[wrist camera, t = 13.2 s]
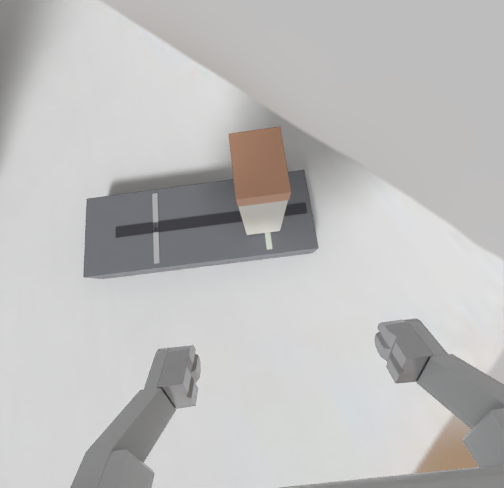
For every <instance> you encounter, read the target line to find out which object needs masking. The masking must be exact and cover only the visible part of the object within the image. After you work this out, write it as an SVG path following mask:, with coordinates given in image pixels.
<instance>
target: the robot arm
mask: <svg viewBox="0 0 504 488" xmlns="http://www.w3.org/2000/svg"><path fill="white" fill-rule="evenodd" d="M378 330H379V332H378V333H377V334H376V335H375V345H376V348H377V351H378V353H379V355H380V356H381V357H382V358H383V359H385V360H386V361H387V366H386V367H387V369H388V371H389V373H390V374H391V376H392V378H393V380H394V382H395V383H406V382H417V383H418V384H419V385H420V386H421V387H422V388H423V389H425V390H426V391H427V392H428V393H429V394H431V395H432V396H433V397H434V398H435V399H437V400H438V401H439V402H440V403H441V404H442V405H444V406H445V407H446V408H447V409H448V410H450V411H451V412H452V413H453V414H454V415H455V416H457V417H458V418H459V419H460V420H461V421H463V422H464V423H465V424H466V425H467V426H468V427H470V428H471V430H470V431H469V432H468V433H467V434H466V435H465V436H464V438H463V442H464V444H465V446H466V447H467V449H468V450H469V452H470V453H471V455H472V457H473V458H474V460H475V461H476V463H477V464H478V466H479V467H476V468H466V469H456V470H446V471H436V472H427V473H417V474H407V475H397V476H388V477H378V478H368V479H358V480H349V481H339V482H329V483H319V484H310V485H300V486H290V487H281V488H504V384H502V383H500V382H498V381H497V380H495V379H493V378H492V377H490V376H488V375H487V374H485V373H483V372H482V371H480V370H478V369H476V368H475V367H473V366H471V365H470V364H468V363H466V362H465V361H463V360H461V359H460V358H458V357H456V356H454V355H453V354H449V355H448V353H447V352H446V351H445V350H444V349H443V347H442V346H441V345H440V344H439V343H438V341H437V340H436V339H435V338H434V337H433V335H432V334H431V333H430V332H429V331H428V329H427V328H426V327H425V326H424V325H423V323H422V322H421V321H420V320H418V319H415V318H414V319H407V320H397V321H389V322H382V323H380V324H379V325H378ZM195 350H196V349H195V347H194V345H191V346H182V347H173V348H163V349H158V351H157V352H156V354H155V357H154V360H153V363H152V366H151V369H150V372H149V375H148V378H147V381H146V384H145V387H144V390H140V391H139V392H138V393H137V394H136V396H135V397H134V398H133V399H132V400H131V401H130V402H129V404H128V405H127V406H126V407H125V408H124V409H123V410H122V412H121V413H120V414H119V415H118V416H117V417H116V418H115V420H114V421H113V422H112V423H111V424H110V425H109V426H108V428H107V429H106V430H105V431H104V432H103V433H102V434H101V436H100V437H99V438H98V439H97V440H96V441H95V442H94V444H93V445H92V446H91V447H90V448H89V449H88V450H87V452H86V453H85V455H84V458H83V460H82V462H81V465H80V467H79V469H78V471H77V474H76V476H75V478H74V481H73V483H72V485H71V487H70V488H151V487H152V482H153V478H154V473H153V470H152V469H150V468H149V467H148V466H147V465H145V464H144V463H143V462H144V461H145V459H146V457H147V456H148V454H149V453H150V451H151V449H152V448H153V446H154V445H155V443H156V441H157V440H158V438H159V436H160V435H161V433H162V432H163V430H164V428H165V427H166V425H167V424H168V422H169V420H170V419H171V417H172V415H173V414H174V412H175V411H176V409H177V408H184V407H191V406H196V399H197V392H198V387H197V385H196V382H197V380H198V379H199V378H200V359H199V356H198V355H197V354H195Z"/></svg>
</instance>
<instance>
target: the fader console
mask: <svg viewBox="0 0 504 488" xmlns="http://www.w3.org/2000/svg"><path fill="white" fill-rule="evenodd" d="M288 177H289V183H290V189H291V195H290V198H289V200H288V202H287V206H286V210H285V214H284V218H283V221H282V225H281V229H280V231H276V232H268V233H260V234H252V235H247V234H246V231H245V227H244V224H243V221H242V217H241V214H240V211H239V207H238V205H237V202H236V197H235V187H234V179H231V180H224V181H216V182H209V183H201V184H194V185H186V186H179V187H172V188H164V189H157V190H149V191H142V192H134V193H127V194H119V195H112V196H104V197H97V198H89V199H87V206H86V230H85V254H84V277H86V278H98V279H106V278H114V277H122V276H131V275H139V274H147V273H155V272H163V271H171V270H179V269H187V268H195V267H203V266H211V265H219V264H227V263H235V262H244V261H252V260H260V259H268V258H276V257H284V256H292V255H300V254H308V253H313V252H314V251H315V250H317V249H318V243H317V238H316V232H315V227H314V221H313V216H312V211H311V205H310V200H309V194H308V189H307V183H306V178H305V172H304V170H299V171H291V172H288Z"/></svg>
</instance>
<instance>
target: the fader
mask: <svg viewBox="0 0 504 488" xmlns="http://www.w3.org/2000/svg"><path fill="white" fill-rule="evenodd" d="M229 142H230V151H231V160H232V169H233V178H234V187H235V197H236V202H237V205H238V207H239V211H240V214H241V217H242V221H243V224H244V227H245V231H246V234H247V235H252V234H260V233H268V232H276V231H280V229H281V225H282V221H283V218H284V214H285V210H286V206H287V202H288V200H289V198H290V195H291V189H290V183H289V177H288V171H287V165H286V159H285V153H284V147H283V141H282V135H281V129H280V127H274V128H267V129H259V130H252V131H245V132H238V133H231V134H229Z"/></svg>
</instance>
